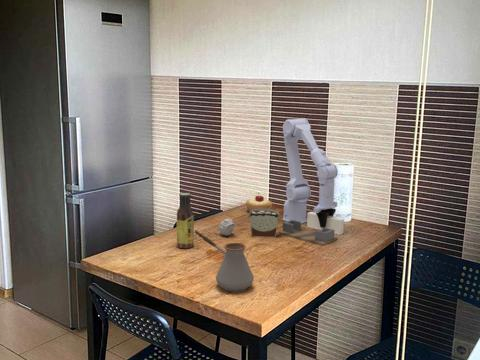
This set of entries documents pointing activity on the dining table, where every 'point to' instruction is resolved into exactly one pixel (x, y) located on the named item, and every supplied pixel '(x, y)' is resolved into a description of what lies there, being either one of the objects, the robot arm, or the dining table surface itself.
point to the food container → (264, 222)
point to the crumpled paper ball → (226, 227)
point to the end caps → (319, 235)
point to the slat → (331, 223)
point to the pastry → (258, 203)
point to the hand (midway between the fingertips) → (324, 226)
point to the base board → (306, 236)
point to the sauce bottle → (185, 222)
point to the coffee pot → (232, 267)
